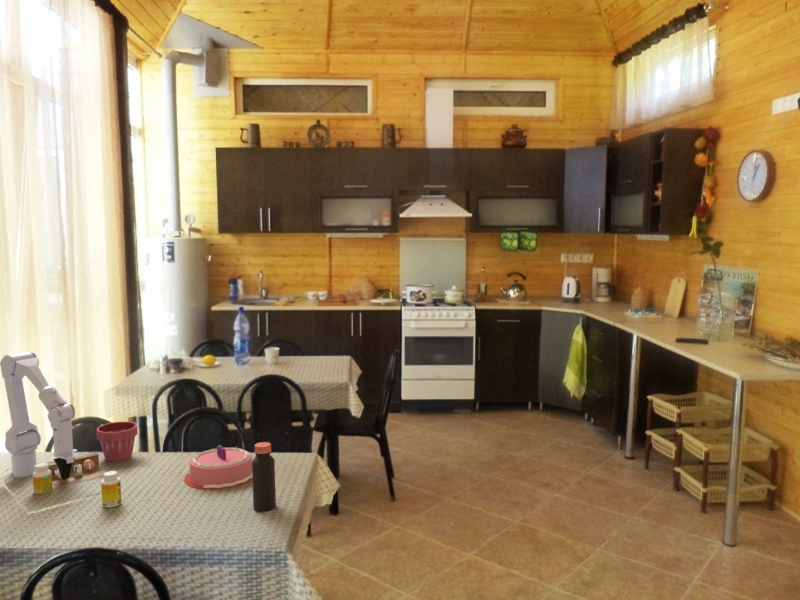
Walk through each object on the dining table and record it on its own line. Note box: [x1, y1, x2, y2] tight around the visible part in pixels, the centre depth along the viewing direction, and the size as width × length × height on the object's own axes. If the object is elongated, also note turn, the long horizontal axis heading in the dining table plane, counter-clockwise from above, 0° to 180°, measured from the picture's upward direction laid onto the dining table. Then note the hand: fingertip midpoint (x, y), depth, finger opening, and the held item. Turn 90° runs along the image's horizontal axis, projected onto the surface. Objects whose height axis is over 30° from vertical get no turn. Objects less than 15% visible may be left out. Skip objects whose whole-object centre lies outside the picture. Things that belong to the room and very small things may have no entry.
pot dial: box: [74, 464, 83, 478], centre depth 220 cm, size 3×3×4 cm
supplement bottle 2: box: [100, 470, 122, 509], centre depth 198 cm, size 6×6×10 cm
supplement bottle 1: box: [32, 462, 53, 495], centre depth 207 cm, size 5×5×10 cm
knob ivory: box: [55, 467, 62, 479], centre depth 220 cm, size 9×4×4 cm, turn 43°
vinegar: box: [252, 441, 277, 513], centre depth 194 cm, size 7×7×20 cm
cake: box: [183, 444, 253, 491], centre depth 222 cm, size 25×25×11 cm
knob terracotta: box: [82, 459, 95, 471], centre depth 228 cm, size 9×4×4 cm, turn 43°
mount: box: [46, 451, 107, 489], centre depth 222 cm, size 16×17×6 cm
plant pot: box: [96, 421, 138, 462], centre depth 240 cm, size 14×14×13 cm
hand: (65, 478), depth 216 cm, fingers closed
